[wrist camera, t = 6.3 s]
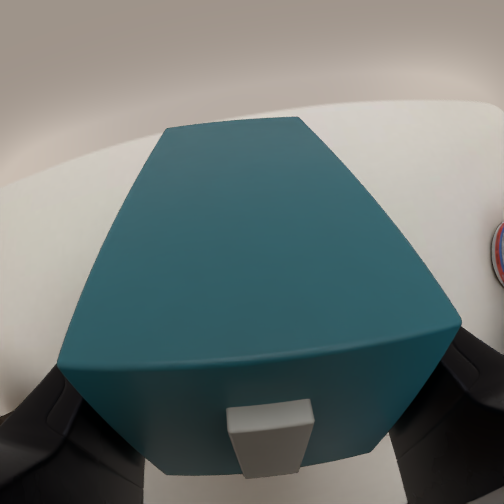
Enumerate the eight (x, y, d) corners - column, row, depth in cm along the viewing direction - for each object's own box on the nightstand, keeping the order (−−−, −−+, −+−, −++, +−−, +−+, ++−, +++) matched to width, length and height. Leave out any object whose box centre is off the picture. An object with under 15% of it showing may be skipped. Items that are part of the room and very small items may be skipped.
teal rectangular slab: (313, 384, 15) (443, 526, 3) (200, 396, 14) (121, 567, 3) (287, 155, 16) (344, -39, 5) (181, 165, 16) (103, -22, 4)
